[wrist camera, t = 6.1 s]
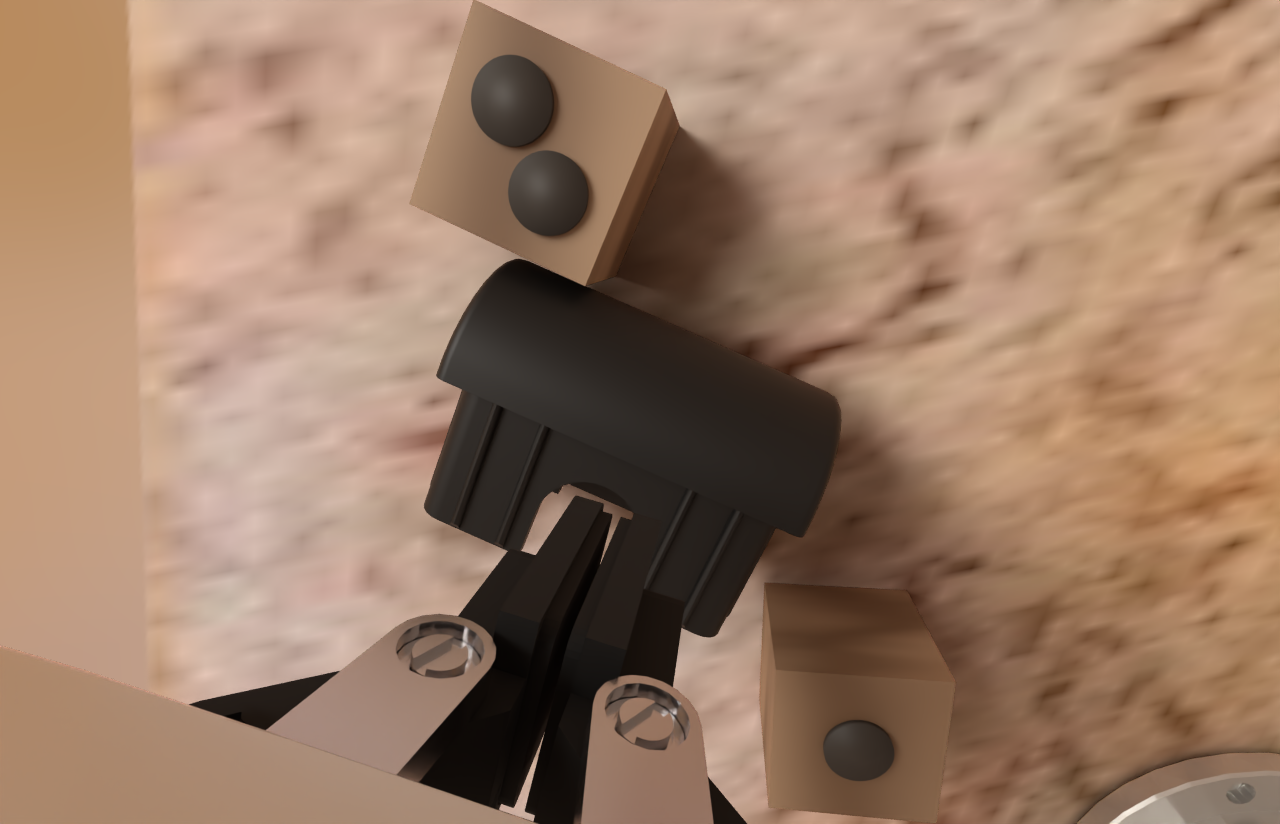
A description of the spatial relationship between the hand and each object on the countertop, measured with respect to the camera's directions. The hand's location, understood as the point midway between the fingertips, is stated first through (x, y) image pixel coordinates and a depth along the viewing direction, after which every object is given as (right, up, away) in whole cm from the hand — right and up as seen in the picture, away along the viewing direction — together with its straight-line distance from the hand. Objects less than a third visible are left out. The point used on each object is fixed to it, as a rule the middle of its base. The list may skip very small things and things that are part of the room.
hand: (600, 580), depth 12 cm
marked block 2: (+8, -6, +12) cm, 15 cm away
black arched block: (+1, +3, +11) cm, 11 cm away
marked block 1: (-1, +11, +9) cm, 14 cm away
